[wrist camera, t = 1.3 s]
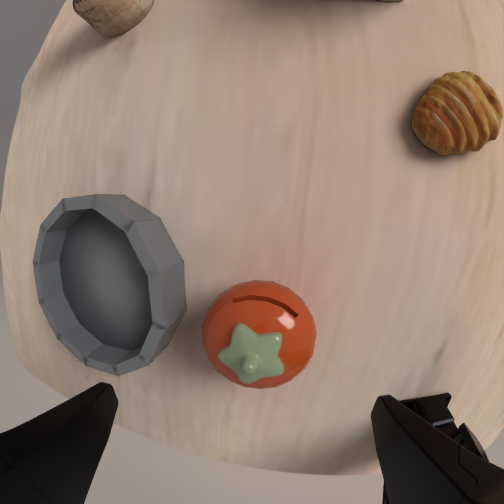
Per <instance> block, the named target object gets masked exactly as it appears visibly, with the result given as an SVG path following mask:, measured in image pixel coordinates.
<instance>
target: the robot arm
mask: <svg viewBox="0 0 504 504" xmlns="http://www.w3.org/2000/svg"><path fill="white" fill-rule="evenodd" d="M450 400H451V395H450V393H445V394H440V395H434V396H429V397H423V398H416V399H409V400H402V401H398V400H397V399H395V398H394V397H392V396H391V395H383V396H379V397H378V398H377V400H376V402H375V405H374V407H373V410H372V412H371V420H372V426H373V432H374V438H375V445H376V451H377V455H378V459H379V463H380V467H381V470H382V474H383V478H384V487H383V488H384V489H383V504H504V469H502V468H500V467H498V466H496V465H494V464H492V463H490V462H489V460H488V458H487V456H486V453H485V451H484V449H483V447H482V446H481V444H480V443H479V441H478V439H477V438H476V437H475V435H474V434H473V433H472V432H471V430H470V429H469V428H468V427H467V426H466V425H465V423H463V424H461V425H460V426H459V428H457V427H456V425H455V423H454V418H453V416H452V414H451V413H450V411H449V409H448V408H447V406H448V404H449V402H450ZM117 407H118V399H117V397H116V394H115V391H114V389H113V386H112V385H111V384H108V383H104V382H100V383H98V384H96V385H95V386H93V387H91V388H89V389H87V390H86V391H84V392H82V393H80V394H78V395H76V396H75V397H73V398H71V399H69V400H67V401H65V402H64V403H62V404H60V405H58V406H56V407H54V408H52V409H50V410H49V411H47V412H45V413H43V414H41V415H39V416H37V417H36V418H33V419H31V420H29V422H28V421H27V422H25V423H23V424H21V425H19V426H17V427H15V428H13V429H11V430H8V431H6V432H3V433H0V504H84V502H85V499H86V496H87V493H88V491H89V488H90V485H91V482H92V480H93V477H94V475H95V472H96V469H97V467H98V464H99V461H100V459H101V456H102V454H103V451H104V449H105V446H106V444H107V441H108V438H109V435H110V432H111V428H112V425H113V421H114V418H115V414H116V411H117Z"/></svg>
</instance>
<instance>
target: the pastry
mask: <svg viewBox="0 0 504 504" xmlns="http://www.w3.org/2000/svg"><path fill="white" fill-rule="evenodd" d="M502 117H503V109H502V106H501V103H500V100H499V99H498V97H497V95H496V93H495V91H494V90H493V89H492V87H491V86H489V85H488V84H487V83H486V82H485V81H484V80H483V79H482V78H481V77H480V76H478V75H476V74H474V73H472V72H470V71H469V72H467V71H461V72H457V73H456V72H451V73H446V74H444V75H443V76H442V77H440V78H439V79H437V80H435V81H434V82H433V83H432V85H431V86H430V87H429V89H428V91H427V92H426V94H425V95H424V96H423V98H421V100H420V101H419V103H418V104H417V106H416V107H415V110H414V114H413V117H412V128H413V130H414V131H415V133H416V135H417V137H418V138H419V140H420V141H421V142H422V143H423V144H424V145H426V146H427V147H428V148H430V149H431V150H433V151H436V152H437V153H439V154H441V155H448V154H452V153H456V154H462V153H466V152H467V151H479V150H480V149H481V148H482V147H483V146H484V145H485V144H486V143H487V142H488V141H491V140H495V139H496V138H497V136H498V133H499V129H500V127H501V122H502Z"/></svg>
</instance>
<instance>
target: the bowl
mask: <svg viewBox="0 0 504 504" xmlns="http://www.w3.org/2000/svg"><path fill="white" fill-rule="evenodd" d="M33 267H34V275H35V282H36V288H37V294H38V299H39V303H40V305H41V308H42V310H43V312H44V314H45V316H46V318H47V320H48V322H49V324H50V326H51V327H52V329H53V331H54V333H55V335H56V337H57V339H58V340H59V341H60V342H61V343H62V344H63V345H64V346H65V347H66V348H67V349H69V350H70V351H71V352H72V353H73V354H74V355H75V356H76V357H77V358H78V359H79V360H80V361H81V362H83V363H84V364H85V365H86V366H89V367H92V368H95V369H98V370H101V371H104V372H107V373H110V374H113V375H117V376H120V375H122V374H125V373H128V372H131V371H134V370H136V369H139V368H142V367H144V366H147V365H149V364H150V363H151V362H152V361H153V360H154V359H155V358H156V357H157V356H158V355H159V354H160V353H161V352H162V351H163V350H164V348H165V347H166V346H167V345H168V344H169V342H170V340H171V338H172V336H173V334H174V333H175V331H176V329H177V327H178V325H179V323H180V321H181V319H182V317H183V315H184V313H185V312H186V297H185V280H184V261H183V260H182V258H181V256H180V254H179V253H178V251H177V249H176V247H175V245H174V243H173V242H172V240H171V238H170V236H169V234H168V232H167V230H166V229H165V227H164V225H163V223H162V221H161V218H160V217H158V216H156V215H155V214H153V213H152V212H150V211H148V210H147V209H145V208H144V207H142V206H141V205H139V204H138V203H136V202H134V201H133V200H131V199H130V198H128V197H127V196H126V195H112V194H95V195H88V196H80V197H73V198H63V199H62V200H61V201H60V202H59V204H58V205H57V206H56V207H55V208H54V209H53V211H52V212H51V213H50V214H49V215H48V217H47V218H46V219H45V220H44V221H43V223H42V224H41V225H40V230H39V234H38V239H37V243H36V248H35V253H34V259H33Z"/></svg>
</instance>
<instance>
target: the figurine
mask: <svg viewBox="0 0 504 504" xmlns="http://www.w3.org/2000/svg"><path fill="white" fill-rule="evenodd" d="M153 2H154V0H73V8H74V10H75V12H76V13H77V14H78V15H80V16H81V17H82V18H83V19H84V20H85V21H87V22H88V23H89V24H90V25H91V26H92V27H93V28H94V29H95V30H96V31H98V32H99V33H101V34H102V35H104V36H110V37H111V36H116V35H119V34H122V33H124V32H126V31H128V30H129V29H131V28H133V27H134V26H136V25H137V24H138V23H139V22H141V21H142V20H143V18H144V17H145V16H146V15H147V14H148V13H149V11H150V10H151V8H152V5H153Z"/></svg>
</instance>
